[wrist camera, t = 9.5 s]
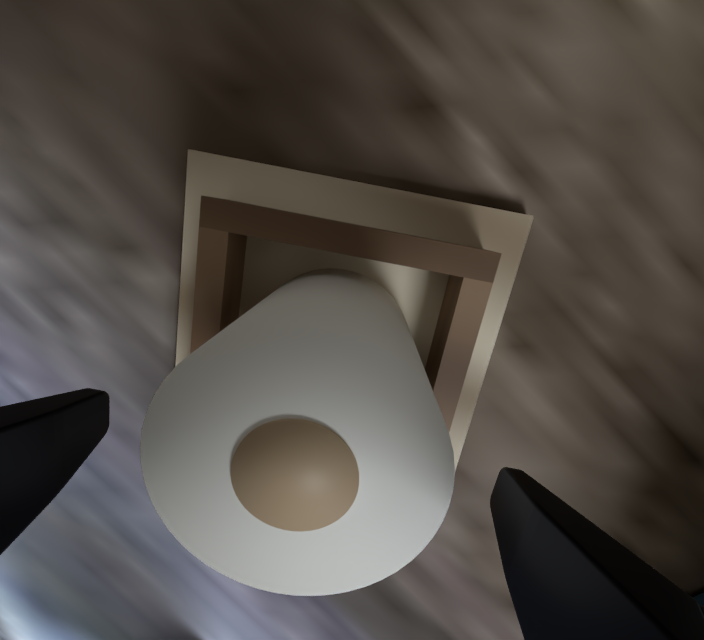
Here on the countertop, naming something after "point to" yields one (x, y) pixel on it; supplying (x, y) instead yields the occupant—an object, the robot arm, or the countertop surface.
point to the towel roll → (302, 442)
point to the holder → (351, 261)
